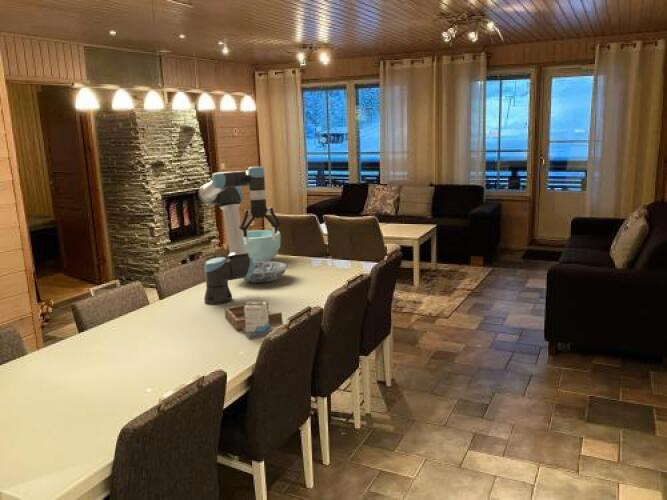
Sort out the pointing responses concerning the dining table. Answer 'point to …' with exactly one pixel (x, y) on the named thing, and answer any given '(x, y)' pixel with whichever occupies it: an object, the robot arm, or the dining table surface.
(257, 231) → the bowl
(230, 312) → the brown wooden shallow tray
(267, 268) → the ceramic bowl
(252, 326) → the ink box
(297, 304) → the dining table surface
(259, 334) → the plinth
